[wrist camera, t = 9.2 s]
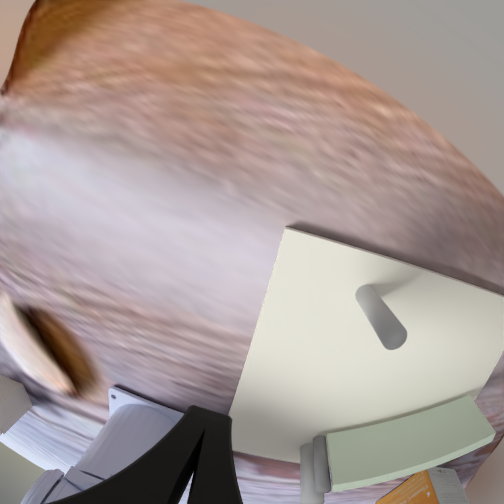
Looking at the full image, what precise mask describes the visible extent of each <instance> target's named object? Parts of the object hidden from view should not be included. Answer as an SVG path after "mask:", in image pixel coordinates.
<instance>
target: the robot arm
mask: <svg viewBox="0 0 504 504" xmlns="http://www.w3.org/2000/svg"><path fill="white" fill-rule="evenodd" d="M114 395H115V396H114ZM109 411H110V419H109V420H108V421H107V423H106V424H105V425H104V427H103V428H102V430H101V431H100V432H99V434H98V435H97V436H96V438H95V439H94V441H93V442H92V443H91V445H90V446H89V448H88V449H87V450H86V452H85V453H84V454H83V456H82V457H81V459H80V460H79V461H78V463H77V464H76V466H75V467H73V466H71V468H70V469H69V471H68V472H67V473H66V475H65V476H64V473H63V472H62V471H61V470H59V469H55V470H47V471H45V472H44V473H43V474H42V475H41V476H40V477H39V478H38V479H37V481H36V482H35V483H34V484H33V486H32V487H31V488H30V490H29V491H28V492H27V494H26V495H25V497H24V498H23V500H22V502H21V503H20V504H178V503H179V501H180V499H181V497H182V495H183V493H184V491H185V489H186V487H187V485H188V482H189V480H190V478H191V476H192V474H193V478H192V483H191V487H190V492H189V497H188V501H187V504H243V502H242V498H241V494H240V490H239V486H238V482H237V477H236V472H235V466H234V460H233V452H232V435H231V434H232V420H233V419H232V418H231V417H230V416H227V415H224V414H220V413H217V412H213V411H210V410H207V409H203V408H200V407H197V406H194V405H193V406H190V407H189V408H188V410H187V411H186V413H185V414H184V413H181V412H178V411H176V410H173V409H170V408H167V407H164V406H162V405H159V404H156V403H154V402H151V401H149V400H146V399H143V398H141V397H139V396H136V395H134V394H131V393H129V392H127V391H124V390H122V389H120V388H118V387H115V386H111V387H110V388H109ZM193 472H194V473H193Z"/></svg>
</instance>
